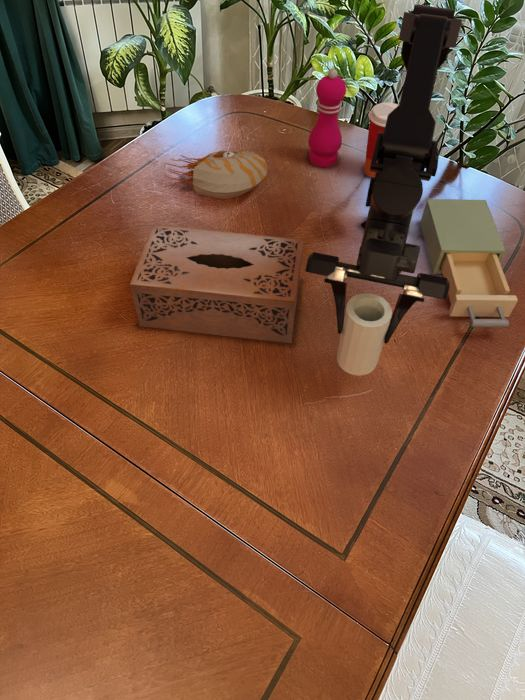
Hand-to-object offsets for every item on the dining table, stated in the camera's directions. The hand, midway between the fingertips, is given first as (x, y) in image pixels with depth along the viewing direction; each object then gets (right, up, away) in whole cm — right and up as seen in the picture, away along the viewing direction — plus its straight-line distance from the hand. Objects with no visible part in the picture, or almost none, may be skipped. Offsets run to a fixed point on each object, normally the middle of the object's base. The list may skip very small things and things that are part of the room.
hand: (362, 338), depth 79 cm
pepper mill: (0, +41, +49) cm, 64 cm away
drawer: (+24, +8, +23) cm, 34 cm away
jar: (0, -3, +6) cm, 7 cm away
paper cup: (+11, +37, +47) cm, 61 cm away
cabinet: (+23, +18, +32) cm, 43 cm away
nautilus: (-24, +33, +42) cm, 59 cm away
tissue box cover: (-21, +6, +22) cm, 31 cm away
